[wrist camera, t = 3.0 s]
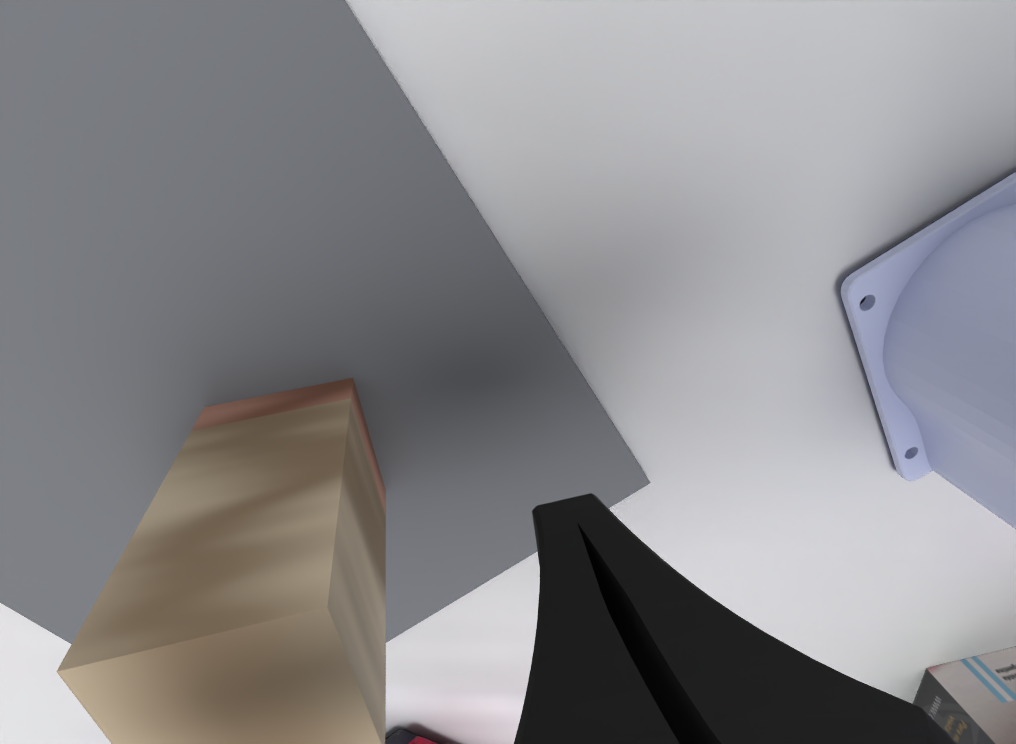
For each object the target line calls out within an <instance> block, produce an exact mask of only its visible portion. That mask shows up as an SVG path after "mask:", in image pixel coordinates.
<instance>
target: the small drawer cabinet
mask: <svg viewBox="0 0 1016 744" xmlns="http://www.w3.org/2000/svg"><path fill="white" fill-rule="evenodd" d="M385 744H437V743H435V742H432V741H430V740H428V739H426V738H423V737H420V736H416V735H414V734H412V733H410V732H407V731H405V730H398V731H396V732H395V733H394V734H392V735H391V736H390V737H389V738H387V739H386V740H385Z"/></svg>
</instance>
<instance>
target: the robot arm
mask: <svg viewBox="0 0 1016 744" xmlns="http://www.w3.org/2000/svg"><path fill="white" fill-rule="evenodd" d="M865 296H866V299H865V301H864V302H863V303H862V304H861V305H860V302H861V300H862V299H863V298H864V297H865ZM841 297H842V300H843V303H844V306H845V310H846V313H847V316H848V319H849V322H850V325H851V328H852V332H853V335H854V338H855V341H856V344H857V347H858V350H859V354H860V357H861V360H862V363H863V366H864V369H865V372H866V376H867V379H868V382H869V385H870V388H871V391H872V395H873V398H874V401H875V404H876V407H877V410H878V413H879V417H880V420H881V423H882V426H883V429H884V432H885V435H886V439H887V442H888V445H889V448H890V451H891V454H892V457H893V461H894V464H895V467H896V470H897V473H898V474H899V475H900V476H901V477H902V478H904V479H905V480H908V481H914V480H916V479H919V478H921V477H922V476H924V475H926V474H928V473H929V472H931V471H935V472H936V473H938V474H939V475H940V476H942V477H943V478H945V479H946V480H947V481H949V482H950V483H952V484H953V485H955V486H956V487H957V488H959V489H960V490H962V491H963V492H964V493H966V494H967V495H969V496H970V497H971V498H973V499H974V500H976V501H977V502H978V503H980V504H981V505H983V506H984V507H985V508H987V509H988V510H990V511H991V512H992V513H994V514H995V515H997V516H998V517H999V518H1001V519H1002V520H1004V521H1005V522H1006V523H1008V524H1009V525H1011V526H1012V527H1013V528H1015V529H1016V172H1015V173H1013V174H1011V175H1010V176H1008V177H1007V178H1005V179H1003V180H1002V181H1000V182H998V183H997V184H995V185H994V186H992V187H990V188H989V189H987V190H986V191H984V192H982V193H981V194H979V195H978V196H976V197H974V198H973V199H971V200H969V201H968V202H966V203H965V204H963V205H961V206H960V207H958V208H957V209H955V210H953V211H952V212H950V213H948V214H947V215H945V216H944V217H942V218H940V219H939V220H937V221H936V222H934V223H932V224H931V225H929V226H927V227H926V228H924V229H923V230H921V231H919V232H918V233H916V234H915V235H913V236H911V237H910V238H908V239H907V240H905V241H903V242H902V243H900V244H898V245H897V246H895V247H894V248H892V249H890V250H889V251H887V252H886V253H884V254H882V255H881V256H879V257H877V258H876V259H874V260H873V261H871V262H869V263H868V264H866V265H865V266H863V267H861V268H860V269H858V270H856V271H855V272H853V273H852V274H850V275H849V276H848V277H847V278H846V279H845V281H844V282H843V284H842V287H841ZM532 516H533V523H534V530H535V537H536V544H537V551H538V558H539V564H540V592H539V606H538V620H537V629H536V637H535V645H534V652H533V658H532V665H531V670H530V675H529V681H528V686H527V691H526V696H525V701H524V706H523V710H522V715H521V719H520V723H519V726H518V730H517V734H516V738H515V742H514V744H957V743H956V742H955V741H954V740H953V739H952V738H951V737H950V736H949V735H948V734H947V732H946V731H944V730H943V729H942V728H941V727H940V726H939V725H938V724H937V723H936V722H935V721H934V720H933V719H932V718H931V717H930V716H929V715H928V714H927V713H926V712H925V711H924V709H923V708H921V707H918V706H916V705H914V704H911V703H909V702H907V701H904V700H902V699H900V698H897V697H895V696H893V695H890V694H888V693H886V692H883V691H881V690H878V689H876V688H874V687H871V686H869V685H867V684H864V683H862V682H860V681H857V680H855V679H853V678H851V677H849V676H847V675H844V674H842V673H840V672H838V671H836V670H834V669H832V668H830V667H828V666H826V665H824V664H822V663H820V662H818V661H816V660H814V659H812V658H810V657H808V656H807V655H805V654H803V653H801V652H799V651H798V650H796V649H794V648H792V647H790V646H789V645H787V644H785V643H783V642H781V641H779V640H778V639H776V638H774V637H772V636H770V635H769V634H767V633H765V632H764V631H762V630H760V629H759V628H757V627H755V626H754V625H752V624H751V623H749V622H748V621H746V620H744V619H743V618H741V617H740V616H738V615H736V614H735V613H733V612H732V611H730V610H729V609H728V608H726V607H725V606H723V605H722V604H720V603H719V602H717V601H716V600H714V599H713V598H712V597H710V596H709V595H707V594H706V593H705V592H703V591H702V590H701V589H699V588H698V587H696V586H695V585H694V584H693V583H691V582H690V581H689V580H687V579H686V578H685V577H684V576H682V575H681V574H680V573H678V572H677V571H676V570H675V569H673V568H672V567H671V566H670V565H669V564H667V563H666V562H665V561H664V560H663V559H661V558H660V557H659V556H658V555H657V554H656V553H655V552H654V551H652V550H651V549H650V548H649V547H648V546H647V545H646V544H644V543H643V542H642V541H641V540H640V539H639V538H638V537H637V536H636V535H634V534H633V533H632V532H631V531H630V530H629V529H628V528H627V527H626V526H625V525H624V524H623V523H622V522H621V521H620V520H619V519H618V518H617V517H616V516H615V515H614V514H613V513H612V512H611V511H610V510H609V509H608V508H607V507H606V506H605V505H604V504H603V503H602V502H601V500H600V499H599V498H598V497H597V496H595V495H594V494H592V493H589V494H585V495H581V496H576V497H572V498H567V499H563V500H559V501H554V502H550V503H546V504H541V505H537V506H536V507H535V508H534V509H533V510H532Z"/></svg>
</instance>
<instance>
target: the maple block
mask: <svg viewBox="0 0 1016 744" xmlns="http://www.w3.org/2000/svg"><path fill="white" fill-rule="evenodd" d="M57 673H58V674H59V676H60V677H61V678H62V679H63V681H64V682H65V683H66V685H67V686H68V687H69V689H70V690H71V691H72V693H73V694H74V695H75V696H76V698H77V699H78V700H79V702H80V703H81V704H82V706H83V707H84V708H85V710H86V711H87V712H88V714H89V715H90V716H91V717H92V719H93V720H94V721H95V723H96V724H97V725H98V727H99V728H100V729H101V731H102V732H103V733H104V734H105V736H106V737H107V738H108V740H109V741H110V742H111V744H385V685H386V490H385V486H384V483H383V479H382V476H381V472H380V469H379V465H378V462H377V459H376V455H375V452H374V448H373V445H372V441H371V438H370V434H369V431H368V427H367V424H366V420H365V417H364V414H363V410H362V407H361V403H360V400H359V396H358V393H357V389H356V386H355V382H354V379H353V378H349V379H344V380H339V381H334V382H329V383H324V384H319V385H314V386H309V387H304V388H299V389H294V390H289V391H284V392H279V393H274V394H269V395H264V396H259V397H254V398H249V399H244V400H239V401H234V402H229V403H224V404H218V405H213V406H208V407H204V409H203V411H202V412H201V414H200V416H199V418H198V420H197V421H196V423H195V425H194V427H193V428H192V430H191V432H190V434H189V436H188V437H187V439H186V441H185V443H184V445H183V446H182V448H181V450H180V452H179V454H178V455H177V457H176V459H175V461H174V463H173V464H172V466H171V468H170V470H169V471H168V473H167V475H166V477H165V479H164V480H163V482H162V484H161V486H160V488H159V489H158V491H157V493H156V495H155V497H154V498H153V500H152V502H151V504H150V505H149V507H148V509H147V511H146V513H145V514H144V516H143V518H142V520H141V522H140V523H139V525H138V527H137V529H136V531H135V532H134V534H133V536H132V538H131V539H130V541H129V543H128V545H127V547H126V548H125V550H124V552H123V554H122V556H121V557H120V559H119V561H118V563H117V565H116V566H115V568H114V570H113V572H112V573H111V575H110V577H109V579H108V581H107V582H106V584H105V586H104V588H103V590H102V591H101V593H100V595H99V597H98V599H97V600H96V602H95V604H94V606H93V607H92V609H91V611H90V613H89V615H88V616H87V618H86V620H85V622H84V624H83V625H82V627H81V629H80V631H79V633H78V634H77V636H76V638H75V640H74V641H73V643H72V645H71V647H70V649H69V650H68V652H67V654H66V656H65V658H64V659H63V661H62V663H61V665H60V667H59V668H58V670H57Z"/></svg>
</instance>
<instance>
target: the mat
mask: <svg viewBox="0 0 1016 744" xmlns="http://www.w3.org/2000/svg"><path fill="white" fill-rule="evenodd" d="M349 378H353V379H354V382H355V386H356V389H357V393H358V396H359V400H360V403H361V407H362V410H363V414H364V417H365V420H366V424H367V427H368V431H369V434H370V438H371V441H372V445H373V448H374V452H375V455H376V459H377V462H378V465H379V469H380V472H381V476H382V479H383V483H384V486H385V490H386V642H388V641H390V640H391V639H393V638H394V637H396V636H398V635H399V634H401V633H403V632H404V631H406V630H408V629H409V628H411V627H413V626H414V625H416V624H418V623H419V622H421V621H423V620H424V619H426V618H428V617H429V616H431V615H433V614H434V613H436V612H438V611H439V610H441V609H442V608H444V607H446V606H447V605H449V604H451V603H452V602H454V601H456V600H457V599H459V598H461V597H462V596H464V595H466V594H467V593H469V592H471V591H472V590H474V589H476V588H477V587H479V586H481V585H482V584H484V583H486V582H487V581H489V580H490V579H492V578H494V577H495V576H497V575H499V574H500V573H502V572H504V571H505V570H507V569H509V568H510V567H512V566H514V565H515V564H517V563H519V562H520V561H522V560H524V559H525V558H527V557H529V556H530V555H532V554H534V553H535V552H537V544H536V537H535V530H534V523H533V516H532V510H533V509H534V508H535V507H536V506H537V505H541V504H546V503H550V502H554V501H559V500H563V499H567V498H572V497H576V496H581V495H585V494H589V493H592V494H594V495H595V496H597V497H598V498H599V499H600V500H601V502H602V503H603V504H604V505H605V506H606V507H607V508H610V507H611V506H613V505H615V504H616V503H618V502H620V501H621V500H623V499H625V498H626V497H628V496H630V495H631V494H633V493H635V492H636V491H638V490H640V489H641V488H643V487H644V486H646V485H648V484H649V483H650V481H649V480H648V478H647V477H646V475H645V473H644V472H643V470H642V469H641V467H640V466H639V464H638V462H637V461H636V459H635V458H634V456H633V454H632V453H631V451H630V450H629V448H628V447H627V445H626V443H625V442H624V440H623V439H622V437H621V436H620V434H619V432H618V431H617V429H616V428H615V426H614V424H613V423H612V421H611V420H610V418H609V417H608V415H607V413H606V412H605V410H604V409H603V407H602V406H601V404H600V402H599V401H598V399H597V398H596V396H595V395H594V393H593V391H592V390H591V388H590V387H589V385H588V383H587V382H586V380H585V379H584V377H583V376H582V374H581V372H580V371H579V369H578V368H577V366H576V365H575V363H574V361H573V360H572V358H571V357H570V355H569V353H568V352H567V350H566V349H565V347H564V346H563V344H562V342H561V341H560V339H559V338H558V336H557V335H556V333H555V331H554V330H553V328H552V327H551V325H550V324H549V322H548V320H547V319H546V317H545V316H544V314H543V312H542V311H541V309H540V308H539V306H538V305H537V303H536V301H535V300H534V298H533V297H532V295H531V294H530V292H529V290H528V289H527V287H526V286H525V284H524V282H523V281H522V279H521V278H520V276H519V275H518V273H517V271H516V270H515V268H514V267H513V265H512V264H511V262H510V260H509V259H508V257H507V256H506V254H505V253H504V251H503V249H502V248H501V246H500V245H499V243H498V241H497V240H496V238H495V237H494V235H493V234H492V232H491V230H490V229H489V227H488V226H487V224H486V223H485V221H484V219H483V218H482V216H481V215H480V213H479V211H478V210H477V208H476V207H475V205H474V204H473V202H472V200H471V199H470V197H469V196H468V194H467V193H466V191H465V189H464V188H463V186H462V185H461V183H460V181H459V180H458V178H457V177H456V175H455V174H454V172H453V170H452V169H451V167H450V166H449V164H448V163H447V161H446V159H445V158H444V156H443V155H442V153H441V152H440V150H439V148H438V147H437V145H436V144H435V142H434V140H433V139H432V137H431V136H430V134H429V133H428V131H427V129H426V128H425V126H424V125H423V123H422V122H421V120H420V118H419V117H418V115H417V114H416V112H415V110H414V109H413V107H412V106H411V104H410V103H409V101H408V99H407V98H406V96H405V95H404V93H403V92H402V90H401V88H400V87H399V85H398V84H397V82H396V81H395V79H394V77H393V76H392V74H391V73H390V71H389V69H388V68H387V66H386V65H385V63H384V62H383V60H382V58H381V57H380V55H379V54H378V52H377V51H376V49H375V47H374V46H373V44H372V43H371V41H370V39H369V38H368V36H367V35H366V33H365V32H364V30H363V28H362V27H361V25H360V24H359V22H358V21H357V19H356V17H355V16H354V14H353V13H352V11H351V10H350V8H349V6H348V5H347V3H346V2H345V0H0V603H2V604H4V605H5V606H7V607H9V608H11V609H12V610H14V611H16V612H17V613H19V614H21V615H23V616H24V617H26V618H28V619H29V620H31V621H33V622H35V623H36V624H38V625H40V626H41V627H43V628H45V629H47V630H48V631H50V632H52V633H53V634H55V635H57V636H59V637H60V638H62V639H64V640H65V641H67V642H69V643H71V644H72V643H73V641H74V640H75V638H76V636H77V634H78V633H79V631H80V629H81V627H82V625H83V624H84V622H85V620H86V618H87V616H88V615H89V613H90V611H91V609H92V607H93V606H94V604H95V602H96V600H97V599H98V597H99V595H100V593H101V591H102V590H103V588H104V586H105V584H106V582H107V581H108V579H109V577H110V575H111V573H112V572H113V570H114V568H115V566H116V565H117V563H118V561H119V559H120V557H121V556H122V554H123V552H124V550H125V548H126V547H127V545H128V543H129V541H130V539H131V538H132V536H133V534H134V532H135V531H136V529H137V527H138V525H139V523H140V522H141V520H142V518H143V516H144V514H145V513H146V511H147V509H148V507H149V505H150V504H151V502H152V500H153V498H154V497H155V495H156V493H157V491H158V489H159V488H160V486H161V484H162V482H163V480H164V479H165V477H166V475H167V473H168V471H169V470H170V468H171V466H172V464H173V463H174V461H175V459H176V457H177V455H178V454H179V452H180V450H181V448H182V446H183V445H184V443H185V441H186V439H187V437H188V436H189V434H190V432H191V430H192V428H193V427H194V425H195V423H196V421H197V420H198V418H199V416H200V414H201V412H202V411H203V409H204V407H208V406H213V405H218V404H224V403H229V402H234V401H239V400H244V399H249V398H254V397H259V396H264V395H269V394H274V393H279V392H284V391H289V390H294V389H299V388H304V387H309V386H314V385H319V384H324V383H329V382H334V381H339V380H344V379H349Z"/></svg>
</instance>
